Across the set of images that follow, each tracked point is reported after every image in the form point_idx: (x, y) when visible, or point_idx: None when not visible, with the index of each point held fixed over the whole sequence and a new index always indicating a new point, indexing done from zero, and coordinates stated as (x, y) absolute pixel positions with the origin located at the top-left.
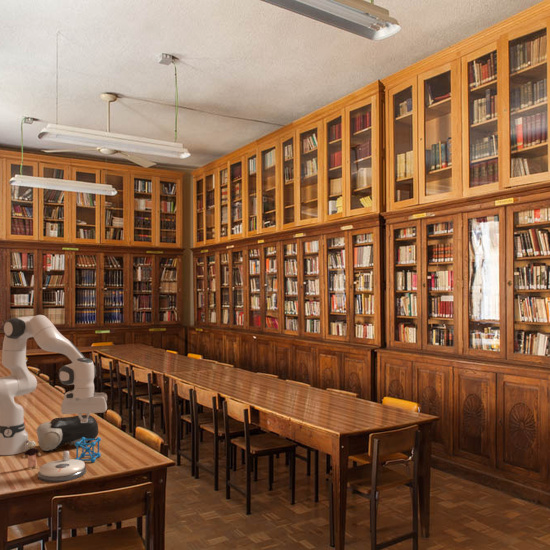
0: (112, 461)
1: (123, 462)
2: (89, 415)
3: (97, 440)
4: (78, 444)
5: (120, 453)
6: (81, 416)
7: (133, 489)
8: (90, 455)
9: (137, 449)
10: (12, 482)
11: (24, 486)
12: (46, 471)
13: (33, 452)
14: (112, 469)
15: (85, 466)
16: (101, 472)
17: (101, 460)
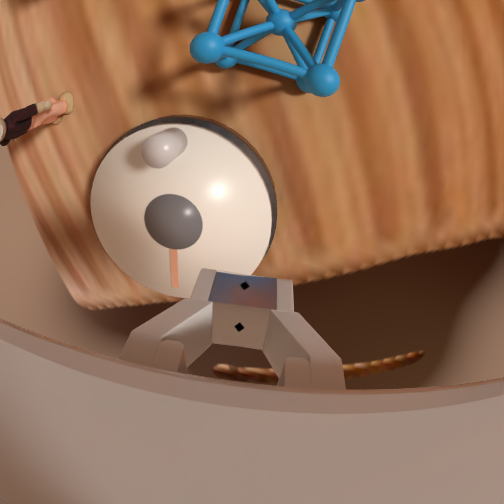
0: (397, 106)
1: (436, 143)
2: (325, 357)
3: (350, 14)
4: (216, 60)
5: (432, 10)
6: (186, 325)
7: (387, 370)
8: (296, 60)
9: (490, 4)
10: (56, 239)
11: (99, 280)
12: (129, 267)
13: (21, 131)
14: (383, 214)
15: (274, 202)
16: (338, 234)
17: (349, 68)
